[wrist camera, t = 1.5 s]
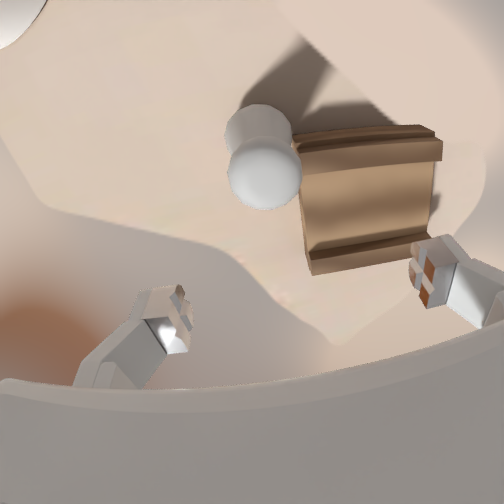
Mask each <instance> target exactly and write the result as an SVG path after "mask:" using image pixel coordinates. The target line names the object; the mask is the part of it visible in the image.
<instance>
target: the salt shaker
mask: <svg viewBox="0 0 504 504" xmlns="http://www.w3.org/2000/svg"><path fill="white" fill-rule="evenodd" d="M224 136H225V140H226V145H227V149H228V151H229V153H230V154H231V156H232V157H231V160H230V164H229V168H228V171H227V174H228V178H229V182H230V186H231V189H232V192H233V193H234V194H235V195H236V196H237V198H238V199H239V200H240V201H241V203H243V204H245V205H247V206H250V207H252V208H254V209H260V210H273V209H276V208H278V207H281V206H283V205H286V204H287V203H288V202H289V201H290V200H291V199H292V198H293V197H295V196H296V195H297V194H298V191H299V188H300V185H301V182H302V180H303V178H302V167H301V160H300V158H299V157H298V156H297V154H296V153H295V151H294V150H293V149H292V147H291V143H292V130H291V124H290V122H289V121H288V120H287V118H286V117H285V116H284V114H283V113H282V112H281V111H279V110H277V109H275V108H273V107H272V106H270V105H261V104H252V105H249V106H247V107H244V108H242V109H239V110H238V111H237V112H236V113H235V114H234V115H233V116H232V118H231V119H230V120H229V121H228V124H227V127H226V131H225V135H224Z"/></svg>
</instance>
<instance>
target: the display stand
mask: <svg viewBox="0 0 504 504" xmlns="http://www.w3.org/2000/svg"><path fill="white" fill-rule="evenodd" d="M292 148H293V150H294V151H295V153H296V154H297V156H298V157H299V158H300V160H301V167H302V178H303V180H302V182H301V185H300V188H299V191H298V192H299V200H300V209H301V218H302V227H303V236H304V245H305V255H306V258H307V262H308V266H309V269H310V270H311V274H312V276H315V275H320V274H326V273H332V272H338V271H343V270H349V269H354V268H360V267H365V266H371V265H376V264H381V263H386V262H392V261H397V260H402V259H407V258H412V257H413V255H412V254H411V252H410V251H411V245H412V243H413V242H416V241H421V240H426V239H430V238H431V237H430V235H429V234H428V233H427V226H428V218H429V210H430V202H431V192H432V180H433V166H434V161H442V150H443V141H442V140H440V139H438V138H436V137H435V132H434V131H432V130H430V129H428V128H425V127H424V126H422V125H394V126H376V127H362V128H350V129H339V130H330V131H321V132H313V133H305V134H297V135H292Z"/></svg>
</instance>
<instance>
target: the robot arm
mask: <svg viewBox="0 0 504 504" xmlns="http://www.w3.org/2000/svg"><path fill="white" fill-rule="evenodd" d="M45 2H46V0H0V49H2V48H4V47H6V46H8V45H9V44H11V43H12V42H14V41H15V40H16V39H17V38H18V37H20V36H21V35H22V34H23V33H24V32H25V31H26V29H27V28H28V27H29V26H30V25H31V23H32V22H33V21H34V20H35V18H36V17H37V15H38V14H39V12H40V11H41V9H42V7H43V6H44V4H45ZM410 252H411V254H412V255H413V258H412V259H411V261H410V262H409V277H410V280H411V283H412V285H413V287H414V288H416V289H417V290H419V291H420V294H419V297H420V299H421V301H422V302H423V304H424V306H425V308H426V309H429V308H433V307H436V306H441V305H444V304H446V305H447V306H448V307H449V308H451V309H452V310H454V311H455V312H456V313H458V314H459V315H460V316H462V317H463V318H465V319H466V320H467V321H469V322H470V323H471V324H473V325H474V326H475V327H477V328H478V330H476V331H473V332H470V333H468V334H465V335H462V336H459V337H456V338H454V339H451V340H448V341H445V342H442V343H439V344H436V345H432V346H429V347H426V348H423V349H419V350H416V351H413V352H409V353H406V354H403V355H399V356H395V357H391V358H388V359H383V360H379V361H375V362H371V363H367V364H363V365H358V366H354V367H349V368H345V369H340V370H335V371H330V372H325V373H320V374H314V375H308V376H302V377H296V378H290V379H283V380H275V381H268V382H259V383H251V384H241V385H231V386H219V387H205V388H186V389H150V390H149V389H142V388H143V387H144V386H145V384H146V383H147V381H148V380H149V379H150V378H151V376H152V375H153V374H154V372H155V371H156V370H157V368H158V367H159V366H160V364H161V363H162V362H163V360H164V359H165V358H166V356H167V354H174V353H182V352H189V347H190V342H191V336H190V334H189V331H190V330H191V329H192V328H193V323H194V317H193V311H192V308H191V305H190V303H189V302H188V301H187V300H185V299H184V295H185V292H184V290H183V288H182V286H180V285H172V286H164V287H157V288H151V289H144V290H141V291H140V292H139V294H138V296H137V299H136V301H135V304H134V306H133V309H132V311H131V314H130V317H129V319H128V321H127V322H123V323H122V324H121V325H120V326H119V327H118V328H117V329H116V330H115V331H114V332H113V333H111V334H110V335H109V336H108V337H107V338H106V339H105V340H104V341H103V342H102V343H101V344H100V345H98V346H97V347H96V348H95V349H94V350H93V351H92V352H91V353H90V354H89V355H88V356H87V357H86V358H85V359H83V360H82V362H81V365H80V367H79V370H78V372H77V375H76V377H75V380H74V383H73V386H63V385H53V384H44V383H36V382H29V381H23V380H17V379H11V378H7V379H3V380H2V381H1V382H0V504H504V272H503V271H501V270H499V269H497V268H495V267H492V266H490V265H488V264H486V263H484V262H482V261H479V260H477V259H471V258H470V257H469V256H468V254H467V253H466V252H465V251H464V250H463V249H462V248H461V246H460V245H459V244H458V243H457V242H456V241H455V240H454V239H453V237H452V236H451V235H449V234H446V235H441V236H437V237H435V238H430V239H426V240H421V241H416V242H413V243H412V245H411V251H410Z"/></svg>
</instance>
